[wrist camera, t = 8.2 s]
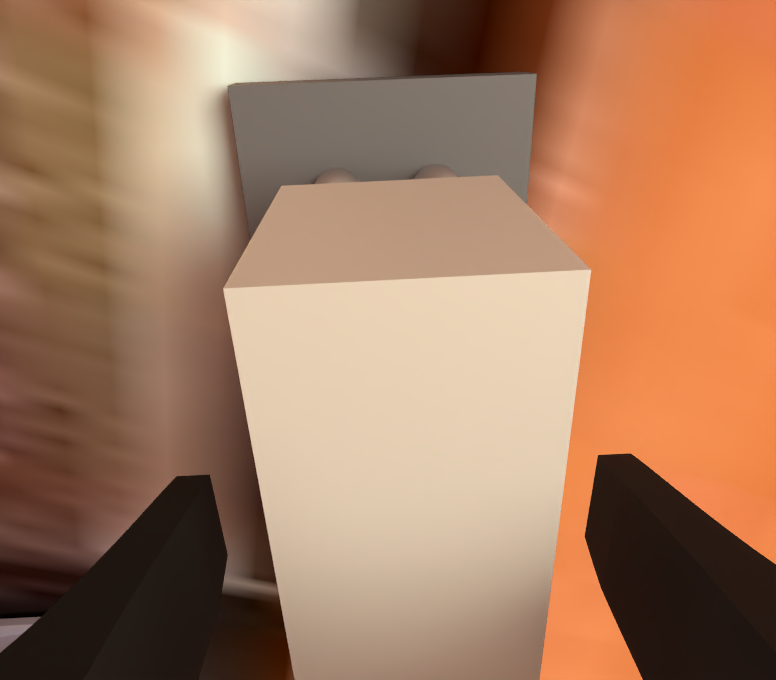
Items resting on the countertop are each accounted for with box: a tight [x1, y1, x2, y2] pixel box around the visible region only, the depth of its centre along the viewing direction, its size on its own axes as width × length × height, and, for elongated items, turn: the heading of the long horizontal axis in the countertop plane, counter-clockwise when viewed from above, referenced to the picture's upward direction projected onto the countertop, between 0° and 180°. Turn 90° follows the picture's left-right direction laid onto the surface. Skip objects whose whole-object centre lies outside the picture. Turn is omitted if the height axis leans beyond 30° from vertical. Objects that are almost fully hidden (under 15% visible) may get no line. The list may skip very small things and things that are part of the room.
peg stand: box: [228, 72, 537, 240], centre depth 15 cm, size 14×7×4 cm, turn 2°
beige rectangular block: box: [223, 175, 591, 680], centre depth 11 cm, size 11×4×5 cm, turn 2°
